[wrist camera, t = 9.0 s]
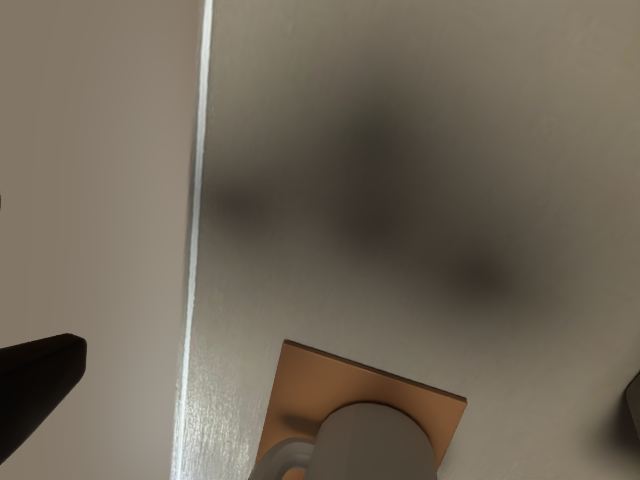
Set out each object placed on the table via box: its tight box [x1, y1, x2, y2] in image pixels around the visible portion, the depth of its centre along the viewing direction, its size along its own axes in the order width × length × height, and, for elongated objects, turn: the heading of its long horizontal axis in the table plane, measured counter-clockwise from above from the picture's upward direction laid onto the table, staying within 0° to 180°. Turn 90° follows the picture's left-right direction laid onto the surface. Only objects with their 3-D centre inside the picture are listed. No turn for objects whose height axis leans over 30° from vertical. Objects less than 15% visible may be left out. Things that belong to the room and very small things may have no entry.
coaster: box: [254, 340, 467, 480], centre depth 23 cm, size 11×11×1 cm
